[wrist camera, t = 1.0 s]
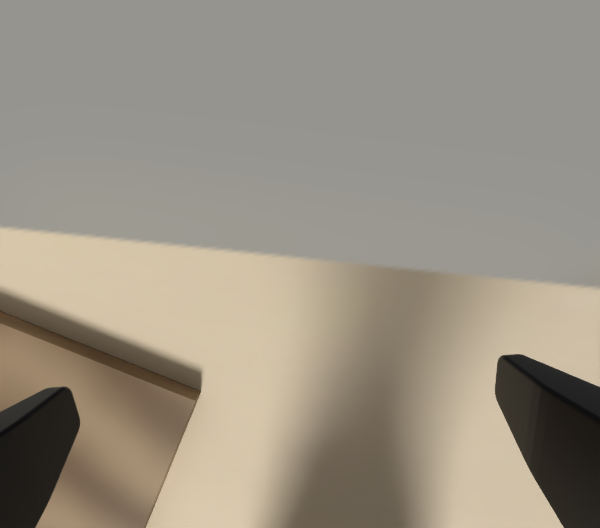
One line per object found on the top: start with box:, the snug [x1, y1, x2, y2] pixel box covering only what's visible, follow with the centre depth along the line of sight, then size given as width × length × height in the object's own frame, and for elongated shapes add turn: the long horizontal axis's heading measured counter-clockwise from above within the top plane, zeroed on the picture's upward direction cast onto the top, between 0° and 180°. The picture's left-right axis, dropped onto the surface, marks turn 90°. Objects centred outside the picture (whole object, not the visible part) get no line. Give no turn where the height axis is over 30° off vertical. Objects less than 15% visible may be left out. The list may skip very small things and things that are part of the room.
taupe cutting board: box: [0, 312, 201, 528], centre depth 24 cm, size 14×14×1 cm
